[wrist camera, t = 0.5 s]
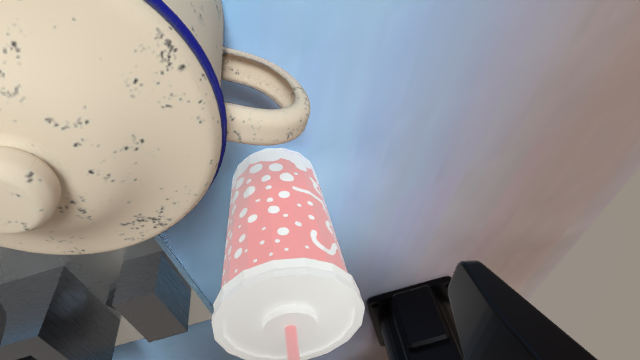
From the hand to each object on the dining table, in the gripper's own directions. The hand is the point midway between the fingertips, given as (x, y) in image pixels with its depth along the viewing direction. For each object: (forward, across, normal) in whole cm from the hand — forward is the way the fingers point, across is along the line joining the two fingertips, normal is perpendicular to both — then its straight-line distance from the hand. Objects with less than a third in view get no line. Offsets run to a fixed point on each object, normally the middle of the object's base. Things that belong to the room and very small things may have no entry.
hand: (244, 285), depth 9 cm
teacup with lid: (+14, +4, 0) cm, 14 cm away
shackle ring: (+13, +12, +17) cm, 25 cm away
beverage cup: (+14, -2, +8) cm, 16 cm away
